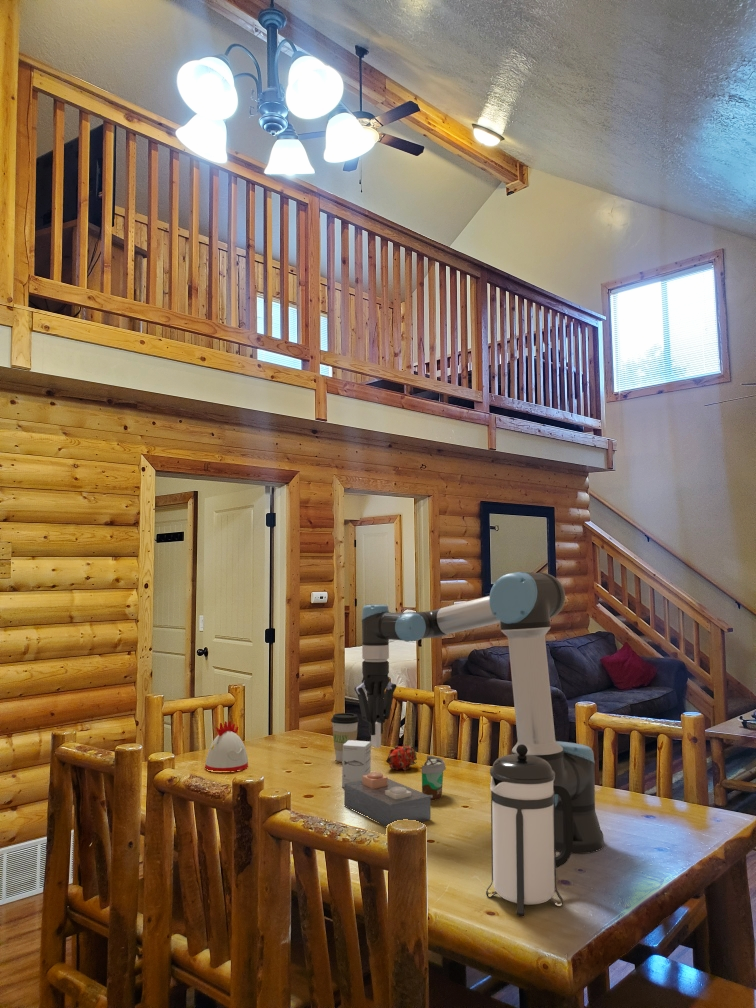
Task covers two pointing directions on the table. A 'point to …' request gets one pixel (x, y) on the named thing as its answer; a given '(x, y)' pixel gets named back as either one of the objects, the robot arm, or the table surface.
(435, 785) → the food container
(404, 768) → the dragon fruit
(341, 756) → the coffee cup
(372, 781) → the terracotta plunger
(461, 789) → the table surface
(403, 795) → the dome-topped white cube
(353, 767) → the supplement box
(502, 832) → the coffee press
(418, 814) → the block
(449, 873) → the table surface
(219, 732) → the kitchen timer
